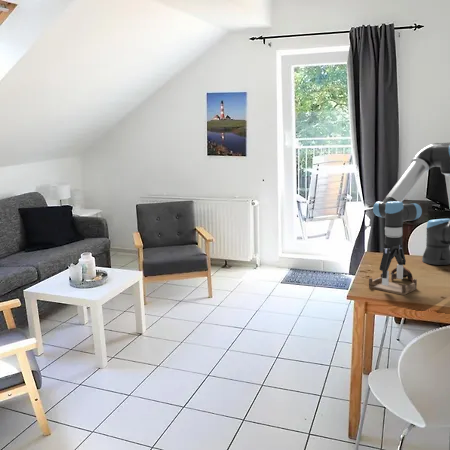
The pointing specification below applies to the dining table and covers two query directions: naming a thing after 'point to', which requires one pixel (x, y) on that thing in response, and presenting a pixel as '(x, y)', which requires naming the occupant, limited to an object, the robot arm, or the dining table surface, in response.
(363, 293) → the dining table surface
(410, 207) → the robot arm
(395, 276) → the pottery mug
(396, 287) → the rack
